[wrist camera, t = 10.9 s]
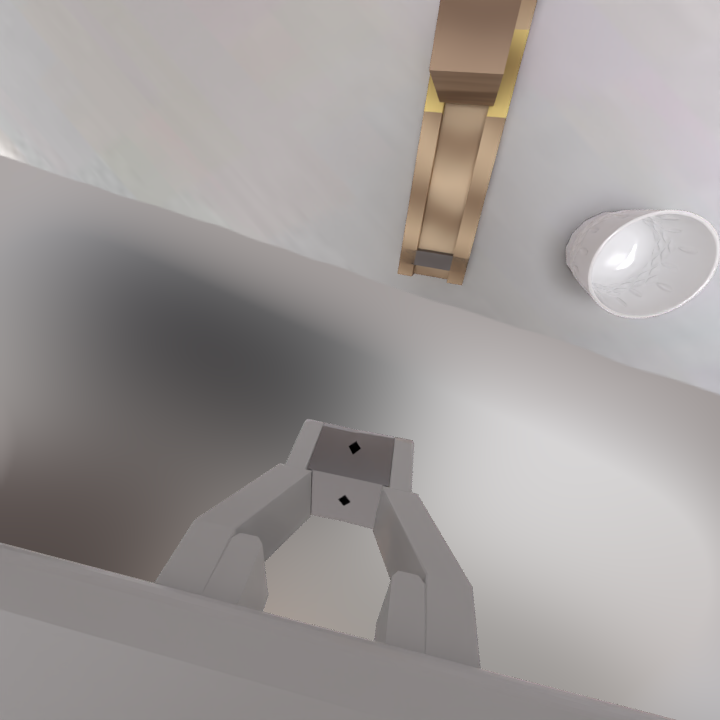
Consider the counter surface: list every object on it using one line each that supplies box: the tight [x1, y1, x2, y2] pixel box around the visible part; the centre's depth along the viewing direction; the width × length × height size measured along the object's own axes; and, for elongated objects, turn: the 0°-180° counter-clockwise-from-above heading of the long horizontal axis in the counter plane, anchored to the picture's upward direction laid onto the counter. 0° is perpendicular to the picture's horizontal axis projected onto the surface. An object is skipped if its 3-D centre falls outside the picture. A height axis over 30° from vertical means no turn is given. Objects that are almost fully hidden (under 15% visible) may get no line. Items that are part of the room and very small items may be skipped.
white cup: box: [565, 209, 720, 318], centre depth 29 cm, size 8×8×10 cm
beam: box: [398, 0, 537, 285], centre depth 31 cm, size 24×7×4 cm, turn 174°
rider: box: [429, 0, 522, 106], centre depth 24 cm, size 4×4×10 cm
